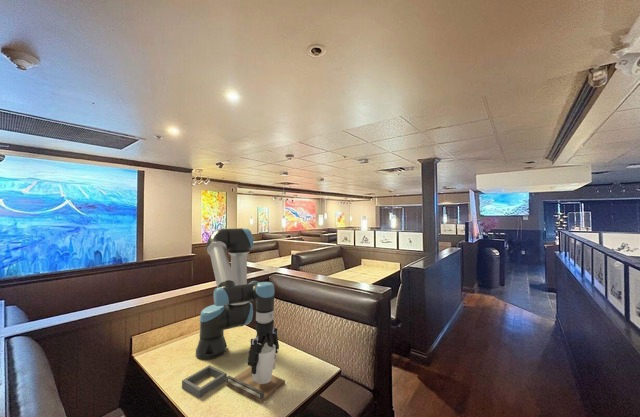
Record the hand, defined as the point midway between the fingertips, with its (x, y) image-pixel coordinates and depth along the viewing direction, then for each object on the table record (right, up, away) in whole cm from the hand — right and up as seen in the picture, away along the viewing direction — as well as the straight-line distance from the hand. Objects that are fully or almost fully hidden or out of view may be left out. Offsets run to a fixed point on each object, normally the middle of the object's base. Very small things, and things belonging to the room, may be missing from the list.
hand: (263, 374), depth 108 cm
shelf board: (-4, -5, +1) cm, 7 cm away
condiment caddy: (-26, -5, +2) cm, 26 cm away
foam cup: (0, -2, 0) cm, 2 cm away
